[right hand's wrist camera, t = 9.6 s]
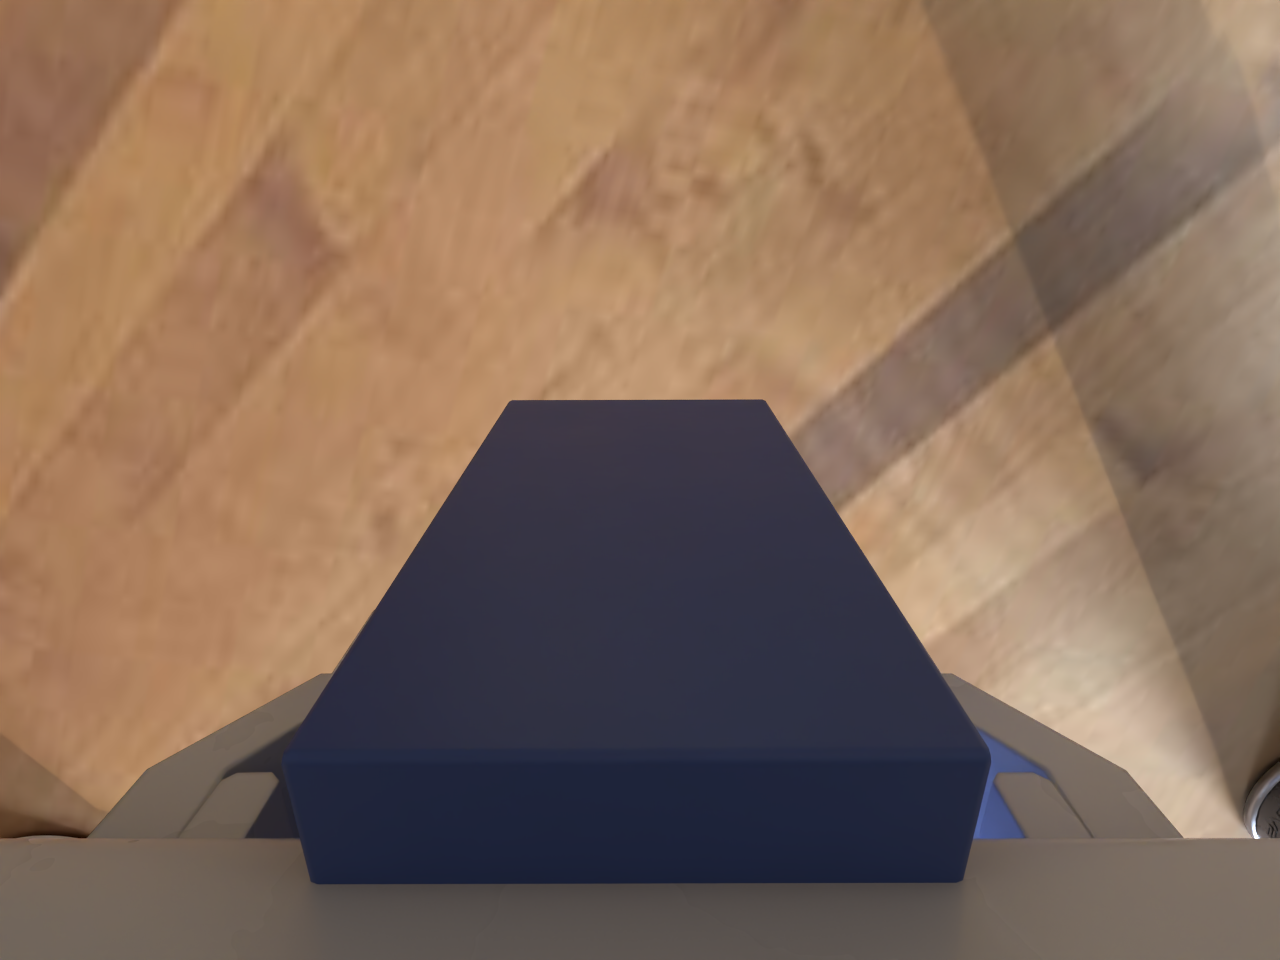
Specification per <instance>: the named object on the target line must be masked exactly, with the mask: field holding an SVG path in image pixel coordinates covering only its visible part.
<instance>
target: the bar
mask: <svg viewBox="0 0 1280 960" xmlns="http://www.w3.org/2000/svg"><path fill="white" fill-rule="evenodd" d="M281 766H282V770H283V774H284V778H285V782H286V786H287V790H288V793H289V797H290V801H291V805H292V809H293V813H294V817H295V821H296V825H297V829H298V833H299V837H300V841H301V845H302V849H303V853H304V857H305V861H306V865H307V869H308V873H309V877H310V881H311V882H313V883H315V884H660V883H957V882H959V881H962V880H963V878H964V874H965V870H966V866H967V862H968V857H969V853H970V849H971V845H972V841H973V837H974V832H975V828H976V824H977V820H978V816H979V812H980V807H981V803H982V799H983V795H984V791H985V787H986V782H987V778H988V774H989V770H990V766H991V754H990V750H989V748H988V746H987V745H986V743H985V741H984V740H983V738H982V737H981V735H980V734H979V732H978V731H977V729H976V727H975V726H974V724H973V723H972V721H971V720H970V718H969V717H968V715H967V714H966V712H965V710H964V709H963V707H962V706H961V704H960V703H959V701H958V700H957V698H956V696H955V695H954V693H953V692H952V690H951V689H950V687H949V686H948V684H947V682H946V681H945V679H944V678H943V676H942V675H941V673H940V672H939V670H938V668H937V667H936V665H935V664H934V662H933V661H932V659H931V658H930V656H929V654H928V653H927V651H926V650H925V648H924V647H923V645H922V644H921V642H920V640H919V639H918V637H917V636H916V634H915V633H914V631H913V630H912V628H911V626H910V625H909V623H908V622H907V620H906V619H905V617H904V616H903V614H902V613H901V611H900V609H899V608H898V606H897V605H896V603H895V602H894V600H893V599H892V597H891V595H890V594H889V592H888V591H887V589H886V588H885V586H884V585H883V583H882V581H881V580H880V578H879V577H878V575H877V574H876V572H875V571H874V569H873V567H872V566H871V564H870V563H869V561H868V560H867V558H866V557H865V555H864V553H863V552H862V550H861V549H860V547H859V546H858V544H857V543H856V541H855V539H854V538H853V536H852V535H851V533H850V532H849V530H848V529H847V527H846V525H845V524H844V522H843V521H842V519H841V518H840V516H839V515H838V513H837V512H836V510H835V508H834V507H833V505H832V504H831V502H830V501H829V499H828V498H827V496H826V494H825V493H824V491H823V490H822V488H821V487H820V485H819V484H818V482H817V480H816V479H815V477H814V476H813V474H812V473H811V471H810V470H809V468H808V466H807V465H806V463H805V462H804V460H803V459H802V457H801V456H800V454H799V452H798V451H797V449H796V448H795V446H794V445H793V443H792V442H791V440H790V438H789V437H788V435H787V434H786V432H785V431H784V429H783V428H782V426H781V424H780V423H779V421H778V420H777V418H776V417H775V415H774V414H773V412H772V411H771V409H770V407H769V406H768V404H767V403H766V401H764V400H512V401H510V402H509V403H508V404H507V406H506V407H505V409H504V411H503V412H502V414H501V415H500V417H499V418H498V420H497V421H496V423H495V425H494V426H493V428H492V429H491V431H490V432H489V434H488V435H487V437H486V439H485V440H484V442H483V443H482V445H481V446H480V448H479V449H478V451H477V452H476V454H475V456H474V457H473V459H472V460H471V462H470V463H469V465H468V466H467V468H466V470H465V471H464V473H463V474H462V476H461V477H460V479H459V480H458V482H457V483H456V485H455V487H454V488H453V490H452V491H451V493H450V494H449V496H448V497H447V499H446V501H445V502H444V504H443V505H442V507H441V508H440V510H439V511H438V513H437V515H436V516H435V518H434V519H433V521H432V522H431V524H430V525H429V527H428V528H427V530H426V532H425V533H424V535H423V536H422V538H421V539H420V541H419V542H418V544H417V546H416V547H415V549H414V550H413V552H412V553H411V555H410V556H409V558H408V559H407V561H406V563H405V564H404V566H403V567H402V569H401V570H400V572H399V573H398V575H397V577H396V578H395V580H394V581H393V583H392V584H391V586H390V587H389V589H388V590H387V592H386V594H385V595H384V597H383V598H382V600H381V601H380V603H379V604H378V606H377V608H376V609H375V611H374V612H373V614H372V615H371V617H370V618H369V620H368V622H367V623H366V625H365V626H364V628H363V629H362V631H361V632H360V634H359V635H358V637H357V639H356V640H355V642H354V643H353V645H352V646H351V648H350V649H349V651H348V653H347V654H346V656H345V657H344V659H343V660H342V662H341V663H340V665H339V666H338V668H337V670H336V671H335V673H334V674H333V676H332V677H331V679H330V680H329V682H328V684H327V685H326V687H325V688H324V690H323V691H322V693H321V694H320V696H319V697H318V699H317V701H316V702H315V704H314V705H313V707H312V708H311V710H310V711H309V713H308V715H307V716H306V718H305V719H304V721H303V722H302V724H301V725H300V727H299V729H298V730H297V732H296V733H295V735H294V736H293V738H292V739H291V741H290V742H289V744H288V746H287V747H286V749H285V750H284V752H283V756H282V763H281Z"/></svg>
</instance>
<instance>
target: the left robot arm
mask: <svg viewBox="0 0 1280 960" xmlns="http://www.w3.org/2000/svg"><path fill="white" fill-rule="evenodd" d="M1243 814H1244V823H1245V826H1246V829H1247V831H1248V832H1249V834H1250V835H1251V836H1252V837H1253V838H1280V761H1279V762H1278V763H1276V764H1275V765H1274V766H1273V767H1271V768H1270V769H1269V770H1268V771H1267V772H1266V773H1265V774H1264V775H1263V776H1262V777H1261V778H1260V779H1259V780H1258V781H1257V783H1256V784H1255V785H1254V787H1253V788H1252V790H1251V792H1250V793H1249V795H1248V797H1247V800H1246V803H1245V806H1244V813H1243Z"/></svg>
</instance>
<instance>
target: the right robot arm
mask: <svg viewBox="0 0 1280 960" xmlns="http://www.w3.org/2000/svg"><path fill="white" fill-rule="evenodd" d="M374 611H375V610H374ZM374 611H373V612H374ZM373 612H372V613H371V615H372V614H373ZM371 615H370V616H369V618H370V617H371ZM369 618H368V619H367V621H366V622H365V624H364V625H363V627H362V628H361V630H360V631H359V633H358V634H357V636H356V638H355V639H354V641H353V642H352V644H351V645H350V647H349V648H348V650H347V651H346V653H345V654H344V656H343V657H342V659H341V660H340V662H339V663H338V665H337V666H336V668H335V669H334V671H333V672H332V674H320V675H318V676H316V677H314V678H312V679H311V680H309V681H307V682H305V683H303V684H301V685H300V686H298V687H296V688H294V689H292V690H290V691H289V692H287V693H285V694H283V695H281V696H280V697H278V698H276V699H274V700H272V701H270V702H269V703H267V704H265V705H263V706H261V707H260V708H258V709H256V710H254V711H252V712H250V713H249V714H247V715H245V716H243V717H241V718H239V719H238V720H236V721H234V722H232V723H230V724H229V725H227V726H225V727H223V728H221V729H219V730H218V731H216V732H214V733H212V734H210V735H209V736H207V737H205V738H203V739H201V740H199V741H198V742H196V743H194V744H192V745H190V746H188V747H187V748H185V749H183V750H181V751H179V752H178V753H176V754H174V755H172V756H170V757H168V758H167V759H165V760H163V761H161V762H159V763H158V764H156V765H154V766H152V767H150V768H148V769H147V770H146V771H145V772H144V773H143V774H142V775H141V777H140V778H139V779H138V780H137V781H136V782H135V783H134V785H133V786H132V787H131V788H130V789H129V790H128V791H127V793H126V794H125V795H124V796H123V797H122V798H121V799H120V801H119V802H118V803H117V804H116V805H115V806H114V807H113V809H112V810H111V811H110V812H109V813H108V814H107V815H106V817H105V818H104V819H103V820H102V821H101V822H100V823H99V825H98V826H97V827H96V828H95V829H94V830H93V831H92V833H91V834H90V835H89V836H88V837H87V838H73V837H66V836H52V835H39V836H27V837H20V838H0V960H1280V838H1183V837H1182V835H1181V834H1180V833H1179V832H1178V831H1177V830H1176V828H1175V827H1174V826H1173V825H1172V824H1171V823H1170V821H1169V820H1168V819H1167V818H1166V817H1165V816H1164V814H1163V813H1162V812H1161V811H1160V810H1159V808H1158V807H1157V806H1156V805H1155V804H1154V803H1153V801H1152V800H1151V799H1150V798H1149V797H1148V796H1147V794H1146V793H1145V792H1144V791H1143V790H1142V789H1141V787H1140V786H1139V785H1138V784H1137V783H1136V782H1135V780H1134V779H1133V778H1132V777H1131V776H1130V774H1129V773H1128V772H1127V771H1126V770H1124V769H1122V768H1121V767H1119V766H1117V765H1115V764H1113V763H1112V762H1110V761H1108V760H1106V759H1104V758H1103V757H1101V756H1099V755H1097V754H1095V753H1094V752H1092V751H1090V750H1088V749H1086V748H1085V747H1083V746H1081V745H1079V744H1078V743H1076V742H1074V741H1072V740H1070V739H1069V738H1067V737H1065V736H1063V735H1061V734H1060V733H1058V732H1056V731H1054V730H1052V729H1051V728H1049V727H1047V726H1045V725H1043V724H1042V723H1040V722H1038V721H1036V720H1034V719H1033V718H1031V717H1029V716H1027V715H1025V714H1024V713H1022V712H1020V711H1018V710H1016V709H1015V708H1013V707H1011V706H1009V705H1007V704H1006V703H1004V702H1002V701H1000V700H998V699H997V698H995V697H993V696H991V695H989V694H988V693H986V692H984V691H982V690H980V689H979V688H977V687H975V686H973V685H971V684H970V683H968V682H966V681H964V680H962V679H961V678H959V677H957V676H955V675H953V674H941V675H942V676H943V678H944V679H945V681H946V682H947V684H948V686H949V687H950V689H951V690H952V692H953V693H954V695H955V696H956V698H957V700H958V701H959V703H960V704H961V706H962V707H963V709H964V710H965V712H966V714H967V715H968V717H969V718H970V720H971V721H972V723H973V724H974V726H975V727H976V729H977V731H978V732H979V734H980V735H981V737H982V738H983V740H984V741H985V743H986V745H987V746H988V748H989V750H990V754H991V766H990V770H989V774H988V778H987V782H986V787H985V791H984V795H983V799H982V803H981V807H980V812H979V816H978V820H977V824H976V828H975V832H974V837H973V841H972V845H971V849H970V853H969V857H968V862H967V866H966V870H965V874H964V878H963V880H962V881H959V882H957V883H660V884H315V883H313V882H311V881H310V877H309V873H308V869H307V865H306V861H305V857H304V853H303V849H302V845H301V841H300V837H299V833H298V829H297V825H296V821H295V817H294V813H293V809H292V805H291V801H290V797H289V793H288V790H287V786H286V782H285V778H284V774H283V770H282V766H281V763H282V756H283V752H284V750H285V749H286V747H287V746H288V744H289V742H290V741H291V739H292V738H293V736H294V735H295V733H296V732H297V730H298V729H299V727H300V725H301V724H302V722H303V721H304V719H305V718H306V716H307V715H308V713H309V711H310V710H311V708H312V707H313V705H314V704H315V702H316V701H317V699H318V697H319V696H320V694H321V693H322V691H323V690H324V688H325V687H326V685H327V684H328V682H329V680H330V679H331V677H332V676H333V674H334V673H335V671H336V670H337V668H338V666H339V665H340V663H341V662H342V660H343V659H344V657H345V656H346V654H347V653H348V651H349V649H350V648H351V646H352V645H353V643H354V642H355V640H356V639H357V637H358V635H359V634H360V632H361V631H362V629H363V628H364V626H365V625H366V623H367V622H368V620H369ZM912 630H913V629H912ZM914 633H915V632H914ZM921 644H922V643H921ZM923 647H924V646H923ZM925 650H926V649H925ZM927 653H928V652H927ZM929 656H930V655H929ZM930 658H931V657H930ZM931 659H932V658H931ZM932 661H933V660H932ZM933 662H934V661H933ZM934 664H935V663H934ZM936 667H937V666H936ZM938 670H939V669H938ZM939 672H940V671H939ZM940 673H941V672H940Z"/></svg>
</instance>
